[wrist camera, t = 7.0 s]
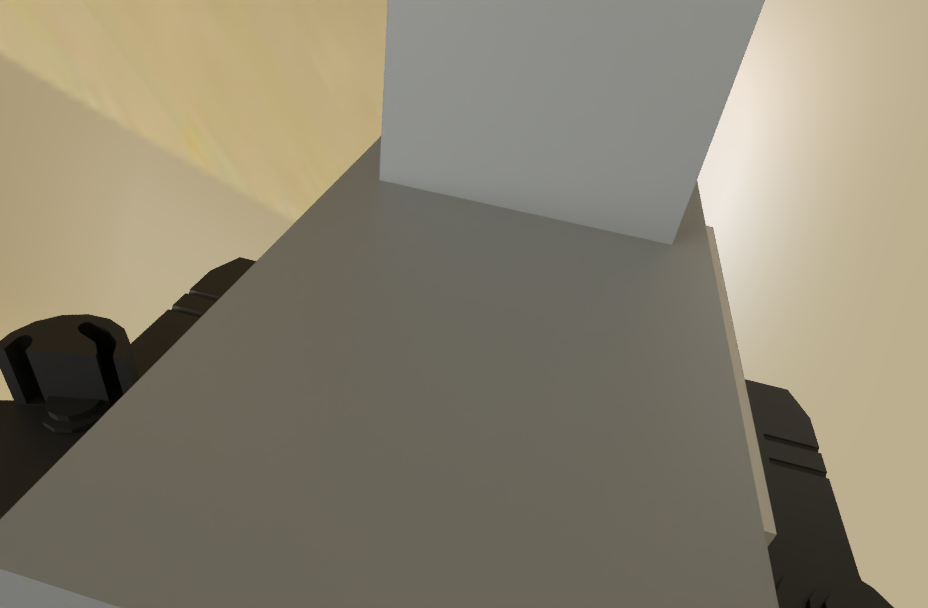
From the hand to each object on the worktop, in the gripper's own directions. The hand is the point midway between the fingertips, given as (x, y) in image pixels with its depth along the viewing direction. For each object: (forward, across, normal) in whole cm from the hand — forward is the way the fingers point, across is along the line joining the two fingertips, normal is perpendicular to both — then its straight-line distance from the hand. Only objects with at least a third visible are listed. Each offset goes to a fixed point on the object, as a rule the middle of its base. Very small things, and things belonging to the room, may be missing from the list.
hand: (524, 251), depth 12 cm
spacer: (+1, 0, +2) cm, 2 cm away
